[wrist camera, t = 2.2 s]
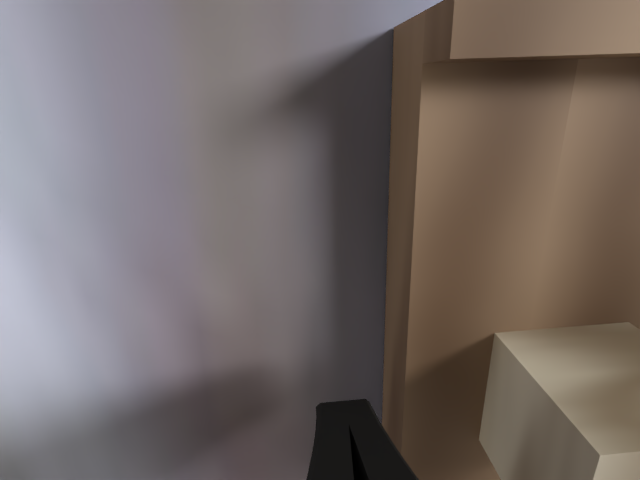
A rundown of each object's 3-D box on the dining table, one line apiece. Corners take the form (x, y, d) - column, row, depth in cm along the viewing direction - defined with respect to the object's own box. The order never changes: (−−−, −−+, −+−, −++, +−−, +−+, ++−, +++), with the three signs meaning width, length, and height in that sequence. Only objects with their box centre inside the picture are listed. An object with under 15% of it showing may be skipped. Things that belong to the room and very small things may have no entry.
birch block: (628, 321, 11) (795, 435, 8) (598, 428, 13) (726, 566, 9) (494, 332, 11) (600, 455, 7) (478, 440, 13) (561, 587, 9)
